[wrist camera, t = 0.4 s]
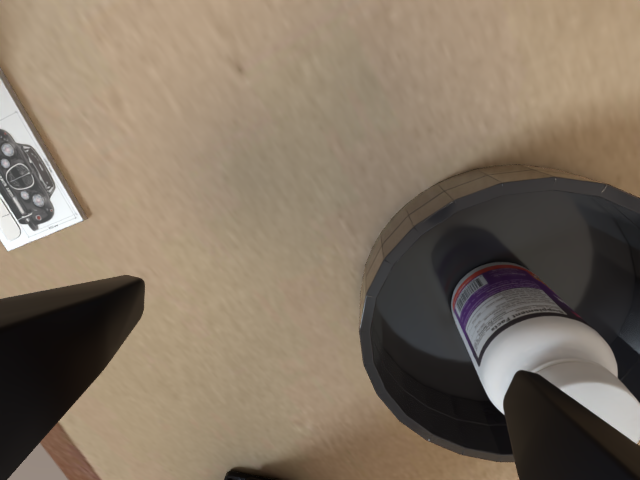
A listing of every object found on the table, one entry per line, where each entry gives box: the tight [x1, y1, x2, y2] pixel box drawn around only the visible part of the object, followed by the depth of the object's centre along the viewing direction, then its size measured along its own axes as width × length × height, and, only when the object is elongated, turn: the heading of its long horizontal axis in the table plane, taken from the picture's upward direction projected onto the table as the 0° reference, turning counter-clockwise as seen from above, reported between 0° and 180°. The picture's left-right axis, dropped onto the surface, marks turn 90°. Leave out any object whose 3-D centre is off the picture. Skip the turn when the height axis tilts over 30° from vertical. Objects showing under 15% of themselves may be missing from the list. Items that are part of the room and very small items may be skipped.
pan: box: [359, 164, 640, 462], centre depth 21 cm, size 16×16×4 cm
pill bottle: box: [451, 262, 640, 444], centre depth 18 cm, size 5×5×10 cm
